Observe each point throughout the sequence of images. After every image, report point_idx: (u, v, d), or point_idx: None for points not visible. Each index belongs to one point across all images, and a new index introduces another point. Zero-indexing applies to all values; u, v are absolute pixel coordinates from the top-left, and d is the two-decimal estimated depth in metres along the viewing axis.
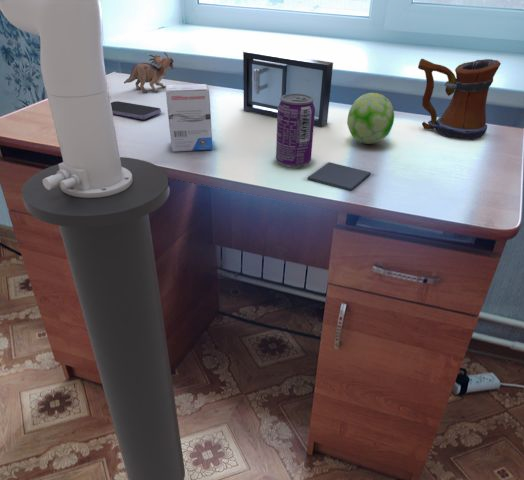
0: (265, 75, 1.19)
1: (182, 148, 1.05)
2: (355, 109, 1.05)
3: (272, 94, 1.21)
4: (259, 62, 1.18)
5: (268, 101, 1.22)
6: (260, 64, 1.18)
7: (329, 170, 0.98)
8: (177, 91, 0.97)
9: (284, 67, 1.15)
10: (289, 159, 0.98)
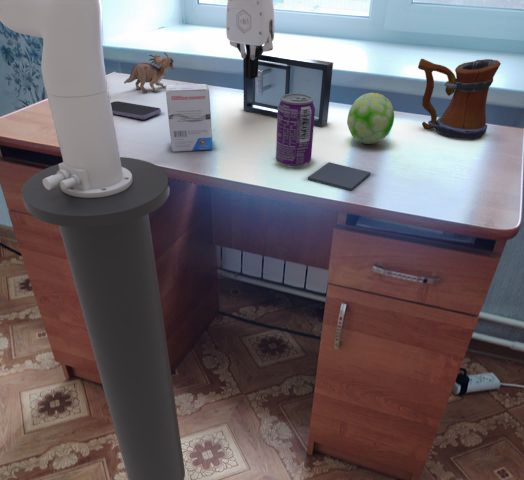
0: (268, 75, 1.19)
1: (182, 148, 1.05)
2: (355, 109, 1.05)
3: (275, 95, 1.20)
4: (262, 63, 1.18)
5: (271, 102, 1.22)
6: (263, 64, 1.18)
7: (329, 170, 0.98)
8: (177, 91, 0.97)
9: (287, 68, 1.15)
10: (289, 159, 0.98)
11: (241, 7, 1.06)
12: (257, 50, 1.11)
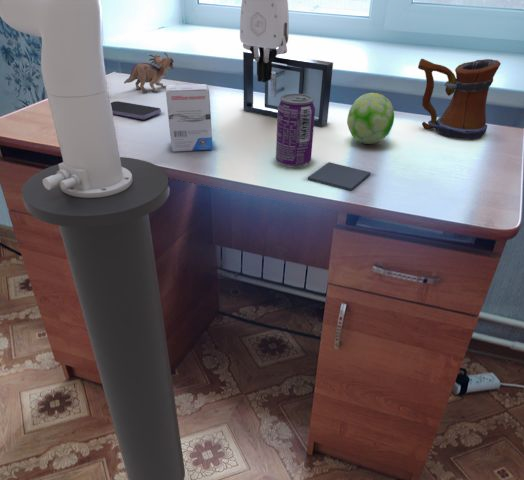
0: (282, 78, 1.17)
1: (182, 148, 1.05)
2: (355, 109, 1.05)
3: None
4: (276, 65, 1.16)
5: None
6: (276, 67, 1.16)
7: (329, 170, 0.98)
8: (177, 91, 0.97)
9: (301, 70, 1.14)
10: (289, 159, 0.98)
11: (255, 10, 1.05)
12: (271, 53, 1.10)
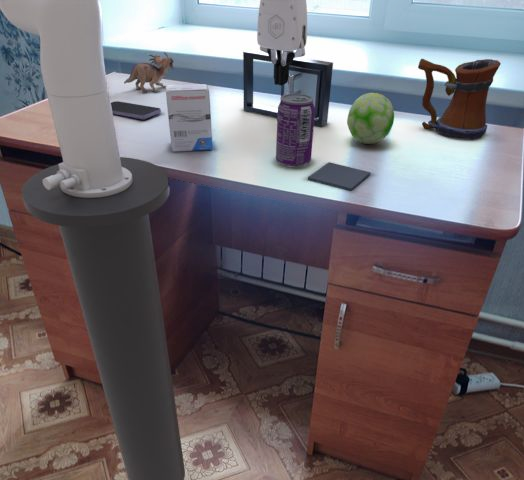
0: (298, 81, 1.16)
1: (182, 148, 1.05)
2: (355, 109, 1.05)
3: None
4: (292, 68, 1.15)
5: None
6: (293, 69, 1.15)
7: (329, 170, 0.98)
8: (177, 91, 0.97)
9: (319, 73, 1.12)
10: (289, 159, 0.98)
11: (274, 12, 1.03)
12: (289, 56, 1.08)
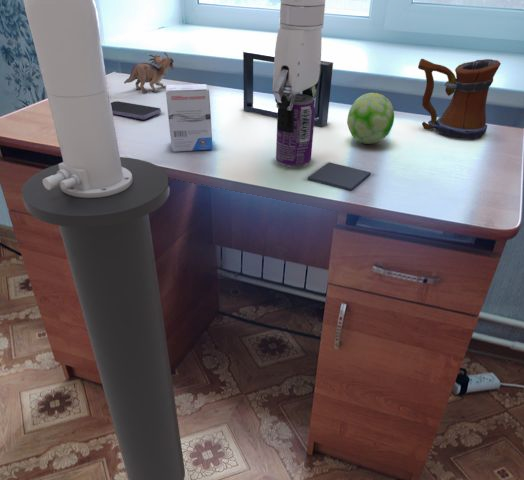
0: None
1: (182, 148, 1.05)
2: (355, 109, 1.05)
3: None
4: None
5: None
6: None
7: (329, 170, 0.98)
8: (177, 91, 0.97)
9: None
10: (289, 159, 0.98)
11: None
12: None
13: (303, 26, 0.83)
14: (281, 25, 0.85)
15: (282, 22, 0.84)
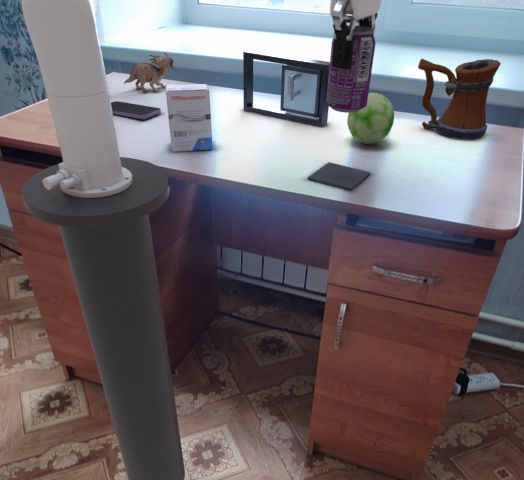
0: (298, 81, 1.16)
1: (182, 148, 1.05)
2: None
3: (305, 100, 1.17)
4: (293, 68, 1.15)
5: (301, 108, 1.19)
6: (293, 69, 1.15)
7: (329, 170, 0.98)
8: (177, 91, 0.97)
9: (319, 73, 1.12)
10: (343, 102, 0.85)
11: None
12: None
13: None
14: None
15: None
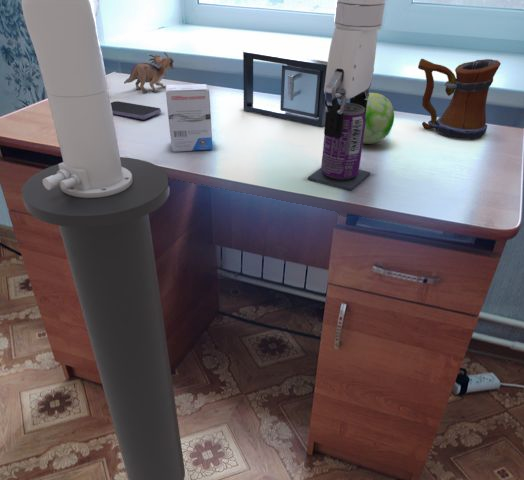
0: (298, 81, 1.16)
1: (182, 148, 1.05)
2: None
3: (305, 100, 1.17)
4: (293, 68, 1.15)
5: (301, 108, 1.19)
6: (293, 69, 1.15)
7: None
8: (177, 91, 0.97)
9: (319, 73, 1.12)
10: (336, 172, 0.93)
11: None
12: None
13: (361, 26, 0.77)
14: (336, 25, 0.79)
15: (338, 22, 0.78)
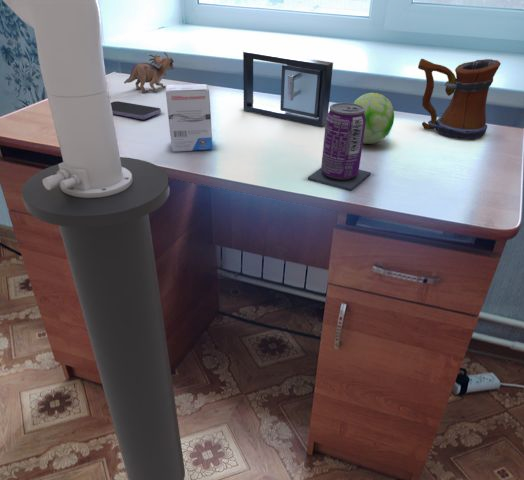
0: (298, 81, 1.16)
1: (182, 148, 1.05)
2: None
3: (305, 100, 1.17)
4: (293, 68, 1.15)
5: (301, 108, 1.19)
6: (293, 69, 1.15)
7: None
8: (177, 91, 0.97)
9: (319, 73, 1.12)
10: (336, 172, 0.93)
11: None
12: None
13: None
14: None
15: None
